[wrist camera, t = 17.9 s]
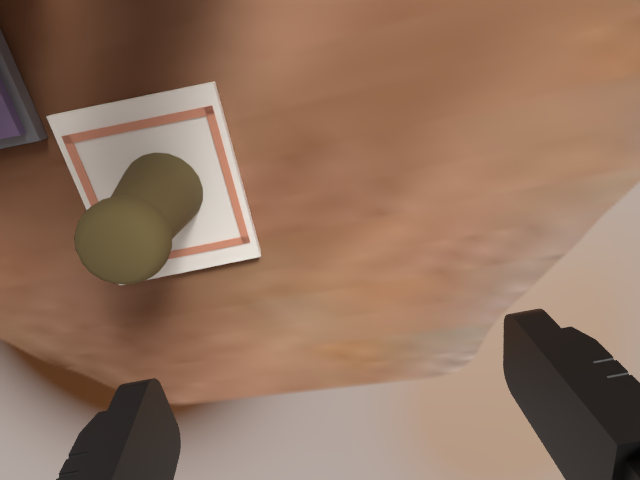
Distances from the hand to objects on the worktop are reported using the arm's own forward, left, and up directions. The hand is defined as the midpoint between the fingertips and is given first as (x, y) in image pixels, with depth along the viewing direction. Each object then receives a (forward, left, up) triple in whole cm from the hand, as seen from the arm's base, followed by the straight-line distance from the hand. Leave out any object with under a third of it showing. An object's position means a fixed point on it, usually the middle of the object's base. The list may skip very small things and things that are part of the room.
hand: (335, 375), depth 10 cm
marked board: (+2, -11, -27) cm, 29 cm away
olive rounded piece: (+2, -11, -26) cm, 28 cm away
